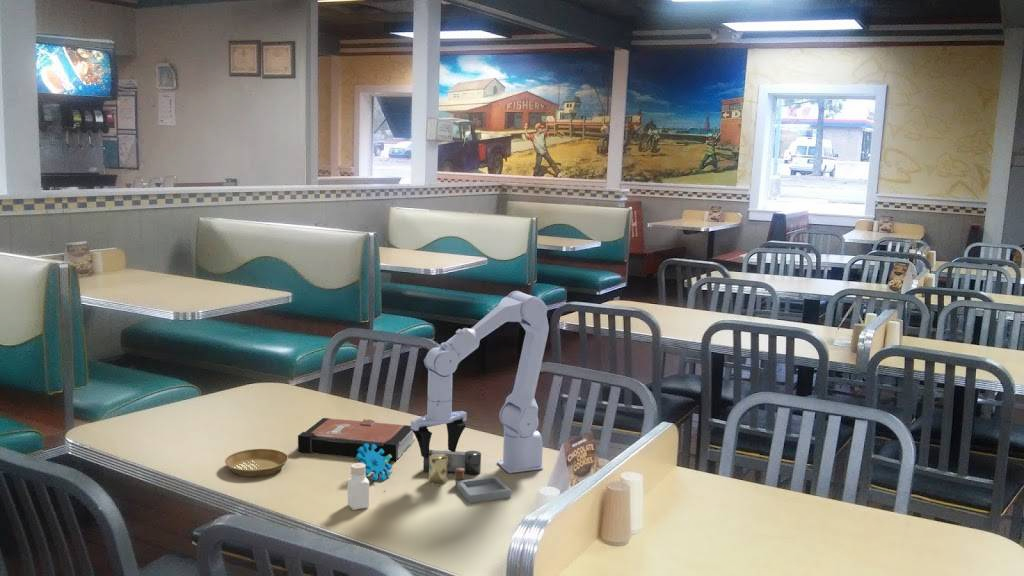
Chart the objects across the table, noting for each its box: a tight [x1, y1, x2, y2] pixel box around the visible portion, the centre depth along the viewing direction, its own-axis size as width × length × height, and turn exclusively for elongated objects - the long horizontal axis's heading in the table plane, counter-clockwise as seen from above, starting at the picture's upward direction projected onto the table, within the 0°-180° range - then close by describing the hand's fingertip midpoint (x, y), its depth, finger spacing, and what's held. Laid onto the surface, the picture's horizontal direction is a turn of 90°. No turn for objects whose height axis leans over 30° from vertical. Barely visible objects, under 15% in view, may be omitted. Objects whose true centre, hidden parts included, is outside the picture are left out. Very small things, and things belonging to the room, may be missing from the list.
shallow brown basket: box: [224, 448, 289, 478], centre depth 214 cm, size 15×15×3 cm
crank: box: [422, 449, 482, 475], centre depth 216 cm, size 14×4×5 cm, turn 88°
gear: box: [355, 443, 393, 482], centre depth 212 cm, size 11×6×10 cm
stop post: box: [454, 468, 465, 488], centre depth 207 cm, size 2×2×4 cm
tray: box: [456, 475, 512, 504], centre depth 203 cm, size 10×9×2 cm
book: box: [297, 417, 416, 463], centre depth 231 cm, size 26×18×5 cm
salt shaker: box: [347, 462, 370, 511], centre depth 193 cm, size 4×4×10 cm
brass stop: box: [428, 454, 449, 485], centre depth 209 cm, size 4×4×6 cm
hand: (438, 453), depth 209 cm, fingers open, 7 cm apart
